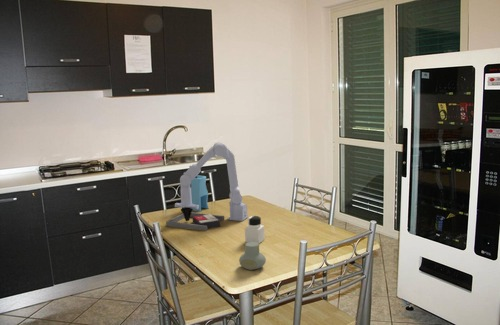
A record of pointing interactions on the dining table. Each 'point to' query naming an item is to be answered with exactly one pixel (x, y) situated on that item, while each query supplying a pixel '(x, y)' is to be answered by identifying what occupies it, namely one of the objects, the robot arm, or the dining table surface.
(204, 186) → the light blue tall block
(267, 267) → the dining table surface
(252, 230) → the medicine bottle
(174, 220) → the grey piece
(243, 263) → the air freshener
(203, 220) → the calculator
